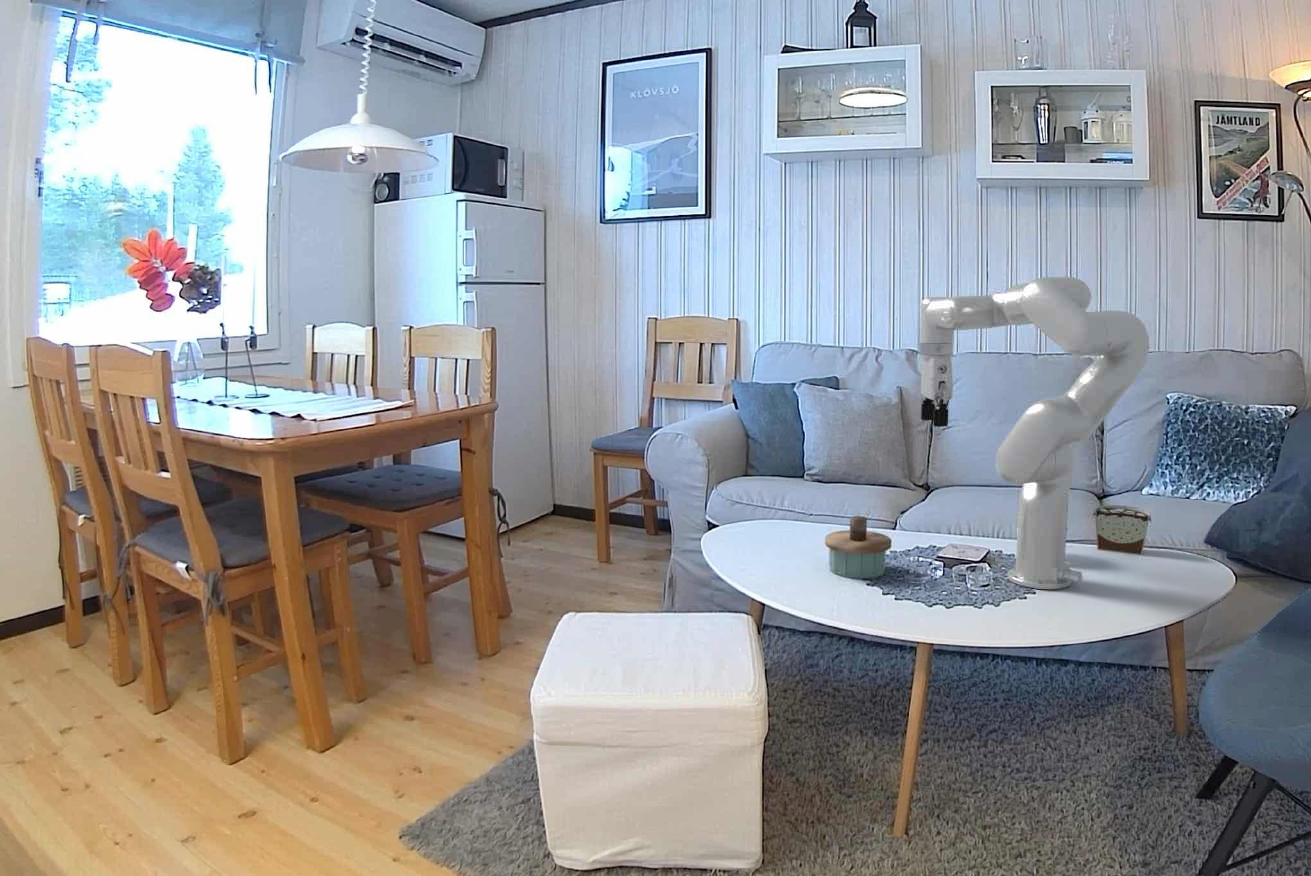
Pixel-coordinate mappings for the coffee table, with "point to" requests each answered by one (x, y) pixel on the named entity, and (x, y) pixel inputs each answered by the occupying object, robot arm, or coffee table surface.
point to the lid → (858, 539)
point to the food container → (1121, 528)
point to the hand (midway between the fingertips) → (934, 423)
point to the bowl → (857, 564)
